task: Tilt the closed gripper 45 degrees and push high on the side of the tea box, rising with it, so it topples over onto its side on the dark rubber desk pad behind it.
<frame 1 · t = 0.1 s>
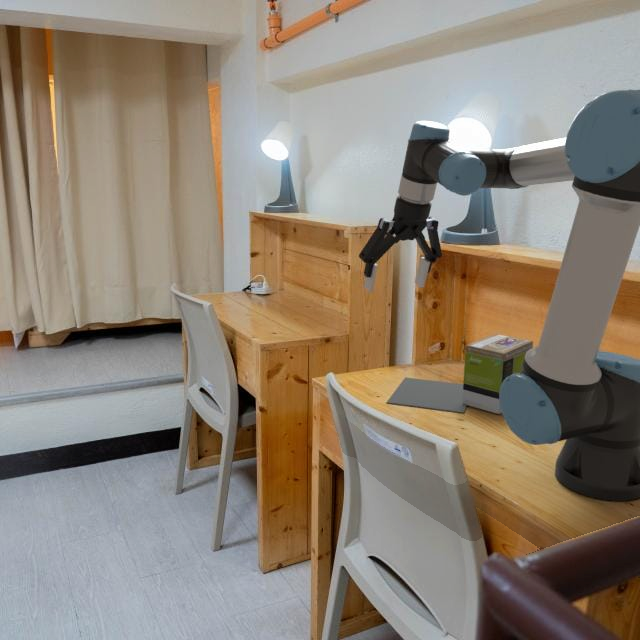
hand: (394, 287, 143), 28 cm above the table, tool tilted 20°, fingers open, 13 cm apart
desk pad: (432, 394, 155), on the table
tea box: (495, 402, 150), on the table, touching desk pad
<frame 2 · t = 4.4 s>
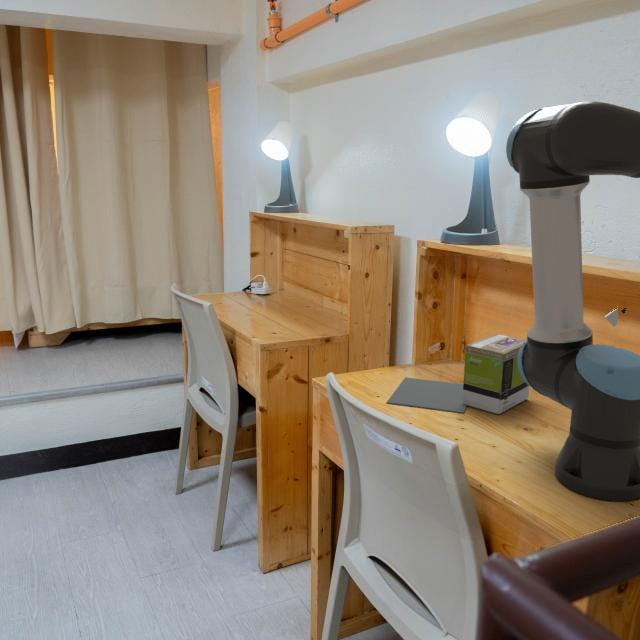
hand: (609, 321, 137), 22 cm above the table, tool tilted 45°, fingers closed
nothing on the table moved.
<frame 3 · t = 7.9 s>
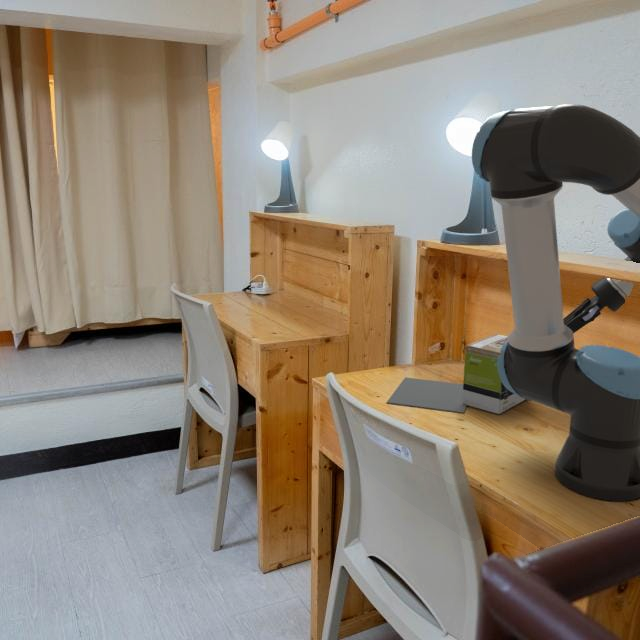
hand: (530, 355, 145), 12 cm above the table, tool tilted 45°, fingers closed
tea box: (495, 402, 150), on the table, touching desk pad, gripper
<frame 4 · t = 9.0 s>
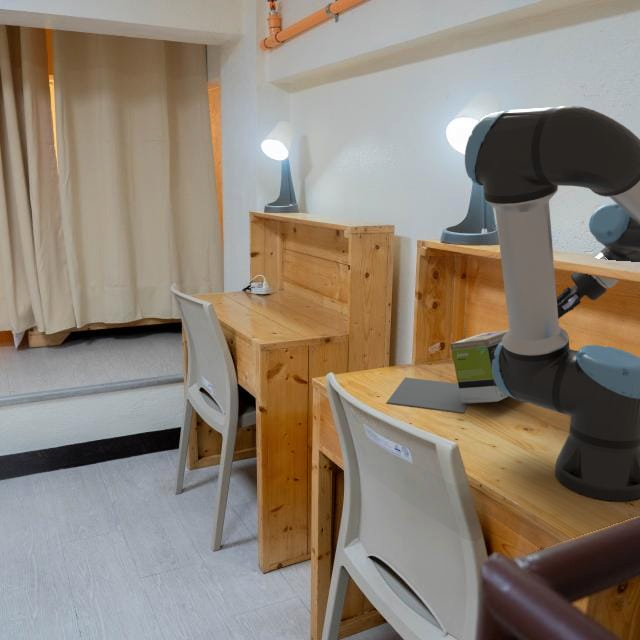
hand: (512, 343, 148), 14 cm above the table, tool tilted 45°, fingers closed
tea box: (494, 396, 150), point 1 cm above the table, touching desk pad, gripper
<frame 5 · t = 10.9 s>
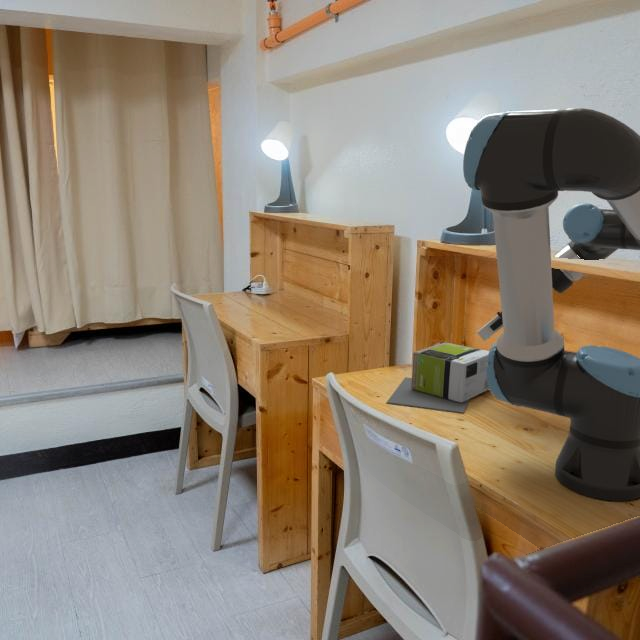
hand: (481, 336, 148), 16 cm above the table, tool tilted 45°, fingers closed
tea box: (479, 377, 151), point 5 cm above the table, touching desk pad
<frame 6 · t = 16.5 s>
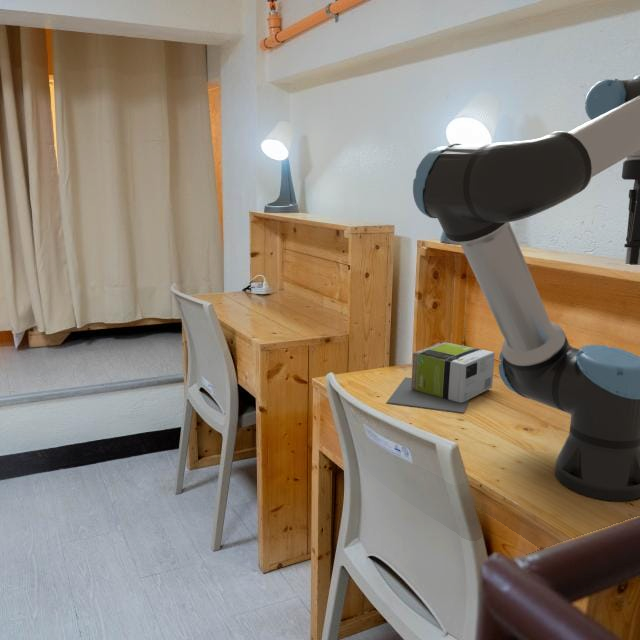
hand: (630, 279, 127), 32 cm above the table, tool pointing down, fingers closed
nothing on the table moved.
at the end: tea box tilted 89°; tea box touching desk pad; tea box inside the target area (3.1 cm from its centre), point 5.2 cm above the table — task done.
